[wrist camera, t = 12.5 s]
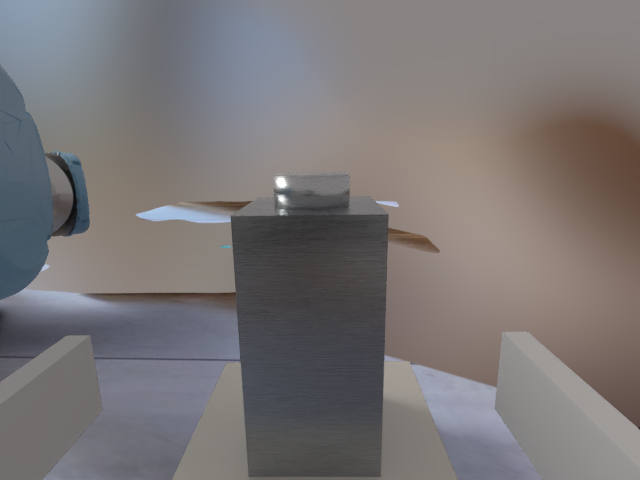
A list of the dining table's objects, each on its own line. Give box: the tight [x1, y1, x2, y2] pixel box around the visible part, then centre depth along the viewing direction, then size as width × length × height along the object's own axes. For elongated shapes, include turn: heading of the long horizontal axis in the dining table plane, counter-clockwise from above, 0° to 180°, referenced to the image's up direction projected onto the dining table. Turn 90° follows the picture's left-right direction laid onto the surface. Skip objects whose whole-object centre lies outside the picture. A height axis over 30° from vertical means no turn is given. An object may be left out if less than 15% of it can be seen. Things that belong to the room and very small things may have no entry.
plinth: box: [172, 361, 458, 480], centre depth 24 cm, size 15×15×5 cm
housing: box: [231, 172, 388, 477], centre depth 21 cm, size 7×7×16 cm
